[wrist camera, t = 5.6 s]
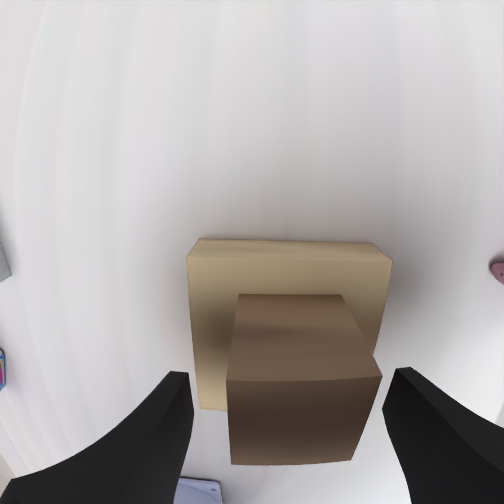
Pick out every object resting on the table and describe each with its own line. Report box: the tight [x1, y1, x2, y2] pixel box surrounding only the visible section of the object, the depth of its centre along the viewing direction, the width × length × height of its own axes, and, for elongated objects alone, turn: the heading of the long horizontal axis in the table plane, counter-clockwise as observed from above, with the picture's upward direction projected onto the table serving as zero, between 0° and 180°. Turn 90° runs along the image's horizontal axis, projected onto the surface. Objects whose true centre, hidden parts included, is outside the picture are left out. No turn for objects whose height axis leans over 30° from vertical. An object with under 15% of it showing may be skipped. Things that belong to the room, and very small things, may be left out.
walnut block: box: [226, 294, 382, 465], centre depth 10 cm, size 4×4×5 cm
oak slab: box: [187, 239, 393, 411], centre depth 14 cm, size 8×8×3 cm
